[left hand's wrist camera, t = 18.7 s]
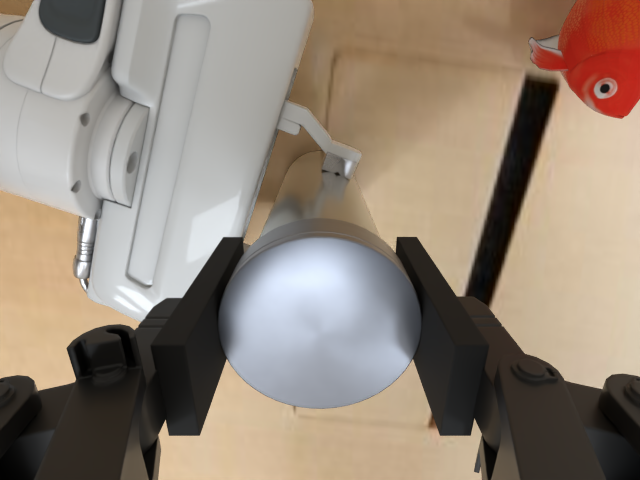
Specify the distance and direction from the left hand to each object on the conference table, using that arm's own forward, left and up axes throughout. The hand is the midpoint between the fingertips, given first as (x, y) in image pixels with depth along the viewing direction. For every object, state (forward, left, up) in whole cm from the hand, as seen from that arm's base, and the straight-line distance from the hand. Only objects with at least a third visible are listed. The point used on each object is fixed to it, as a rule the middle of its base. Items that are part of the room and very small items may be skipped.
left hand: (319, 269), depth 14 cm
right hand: (-1, 0, -7) cm, 7 cm away
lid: (0, 0, +4) cm, 4 cm away
